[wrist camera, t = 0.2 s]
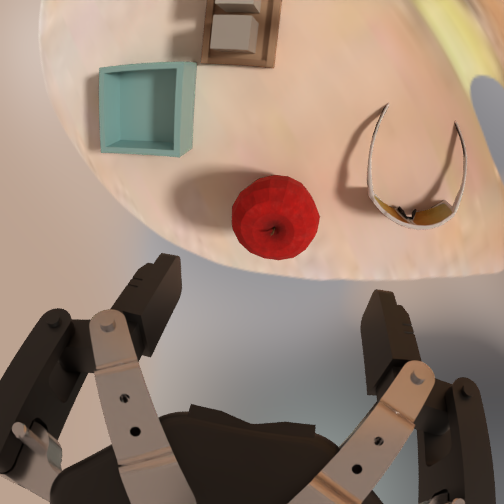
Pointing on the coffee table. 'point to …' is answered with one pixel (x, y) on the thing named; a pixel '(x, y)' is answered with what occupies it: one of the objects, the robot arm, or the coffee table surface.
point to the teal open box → (147, 108)
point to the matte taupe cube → (240, 5)
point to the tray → (265, 36)
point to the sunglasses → (419, 219)
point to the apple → (275, 217)
